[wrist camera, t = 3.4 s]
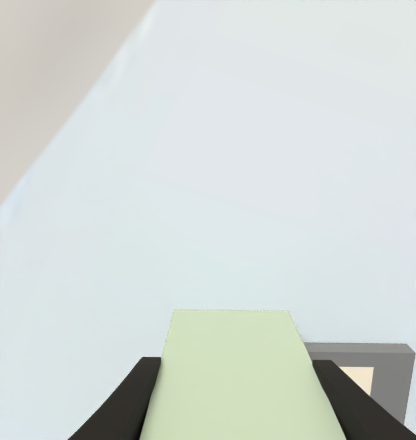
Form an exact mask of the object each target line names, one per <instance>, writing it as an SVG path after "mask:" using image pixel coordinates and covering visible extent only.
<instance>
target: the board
mask: <svg viewBox="0 0 416 440" xmlns="http://www.w3.org/2000/svg"><path fill="white" fill-rule="evenodd" d="M304 345H305V348H306V350H307V352H308V354H309V357H310V359H311V361H312V360H332V361H333V362H334V363H335V364H336V365H337V366H338V367H339V368H340V369H342V370H343V371H344V372H345V373H346V374H347V375H348V376H349V377H350V378H351V379H352V380H353V381H354V382H355V383H356V384H357V385H358V386H360V387H361V388H362V389H363V390H364V391H365V392H366V393H367V394H368V395H369V396H370V397H371V398H373V399H374V400H375V401H376V402H377V403H378V404H379V405H380V406H382V407H383V408H384V409H385V410H386V411H387V412H388V413H390V414H391V415H392V416H393V417H394V418H395V419H397V420H398V421H399V422H400V423H401V424H403V425H404V420H405V414H406V408H407V402H408V396H409V390H410V384H411V378H412V371H413V365H414V359H415V352H414V351H413V350H412V349H411V348H410V347H409V346H408V345H407V344H368V343H304Z"/></svg>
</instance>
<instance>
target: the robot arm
mask: <svg viewBox="0 0 416 440" xmlns="http://www.w3.org/2000/svg"><path fill="white" fill-rule="evenodd" d="M160 364H161V357H142V358H141V359H140V360H139V362H138V363H137V364H136V365H135V367H134V368H133V369H132V370H131V372H130V373H129V374H128V375H127V377H126V378H125V379H124V380H123V381H122V383H121V384H120V385H119V386H118V387H117V389H116V390H115V391H114V392H113V393H112V394H111V395H110V397H109V398H108V399H107V400H106V401H105V402H104V403H103V404H102V406H101V407H100V408H99V409H98V410H97V411H96V412H95V413H94V414H93V415H92V416H91V417H90V418H89V419H88V420H87V421H86V422H85V423H84V424H83V425H82V426H81V427H80V428H79V429H78V430H77V431H76V432H75V433H74V434H73V435H72V436H71V437H70V438H69V439H68V440H140V436H141V432H142V428H143V425H144V421H145V417H146V413H147V410H148V406H149V402H150V398H151V395H152V392H153V389H154V387H155V384H156V380H157V376H158V372H159V368H160ZM312 366H313V368H314V371H315V373H316V375H317V377H318V380H319V382H320V384H321V386H322V389H323V390H324V392H325V394H326V396H327V398H328V399H329V402H330V404H331V406H332V408H333V411H334V413H335V415H336V417H337V420H338V422H339V424H340V426H341V429H342V431H343V433H344V435H345V438H346V440H416V435H415V434H414V433H412V432H411V431H410V430H409V429H408V428H406V427H405V426H404V425H403V424H401V423H400V422H399V421H398V420H397V419H395V418H394V417H393V416H392V415H391V414H390V413H388V412H387V411H386V410H385V409H384V408H383V407H382V406H380V405H379V404H378V403H377V402H376V401H375V400H374V399H373V398H371V397H370V396H369V395H368V394H367V393H366V392H365V391H364V390H363V389H362V388H361V387H360V386H358V385H357V384H356V383H355V382H354V381H353V380H352V379H351V378H350V377H349V376H348V375H347V374H346V373H345V372H344V371H343V370H342V369H340V368H339V367H338V366H337V365H336V364H335V363H334V362H333V361H332V360H312Z"/></svg>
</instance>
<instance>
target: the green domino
mask: <svg viewBox="0 0 416 440" xmlns="http://www.w3.org/2000/svg"><path fill="white" fill-rule="evenodd" d="M140 440H346V438H345V435H344V433H343V431H342V429H341V426H340V424H339V422H338V420H337V417H336V415H335V413H334V411H333V408H332V406H331V404H330V402H329V399H328V398H327V396H326V394H325V392H324V390H323V389H322V386H321V384H320V382H319V380H318V377H317V375H316V373H315V371H314V368H313V366H312V361H311V359H310V357H309V354H308V352H307V350H306V348H305V345H304V343H303V341H302V339H301V336H300V334H299V332H298V330H297V328H296V325H295V323H294V321H293V319H292V316H291V314H290V312H289V311H249V310H174V312H173V316H172V320H171V323H170V327H169V331H168V335H167V338H166V342H165V346H164V350H163V353H162V357H161V364H160V368H159V372H158V376H157V380H156V384H155V387H154V389H153V392H152V395H151V398H150V402H149V406H148V410H147V413H146V417H145V421H144V425H143V428H142V432H141V436H140Z"/></svg>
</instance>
